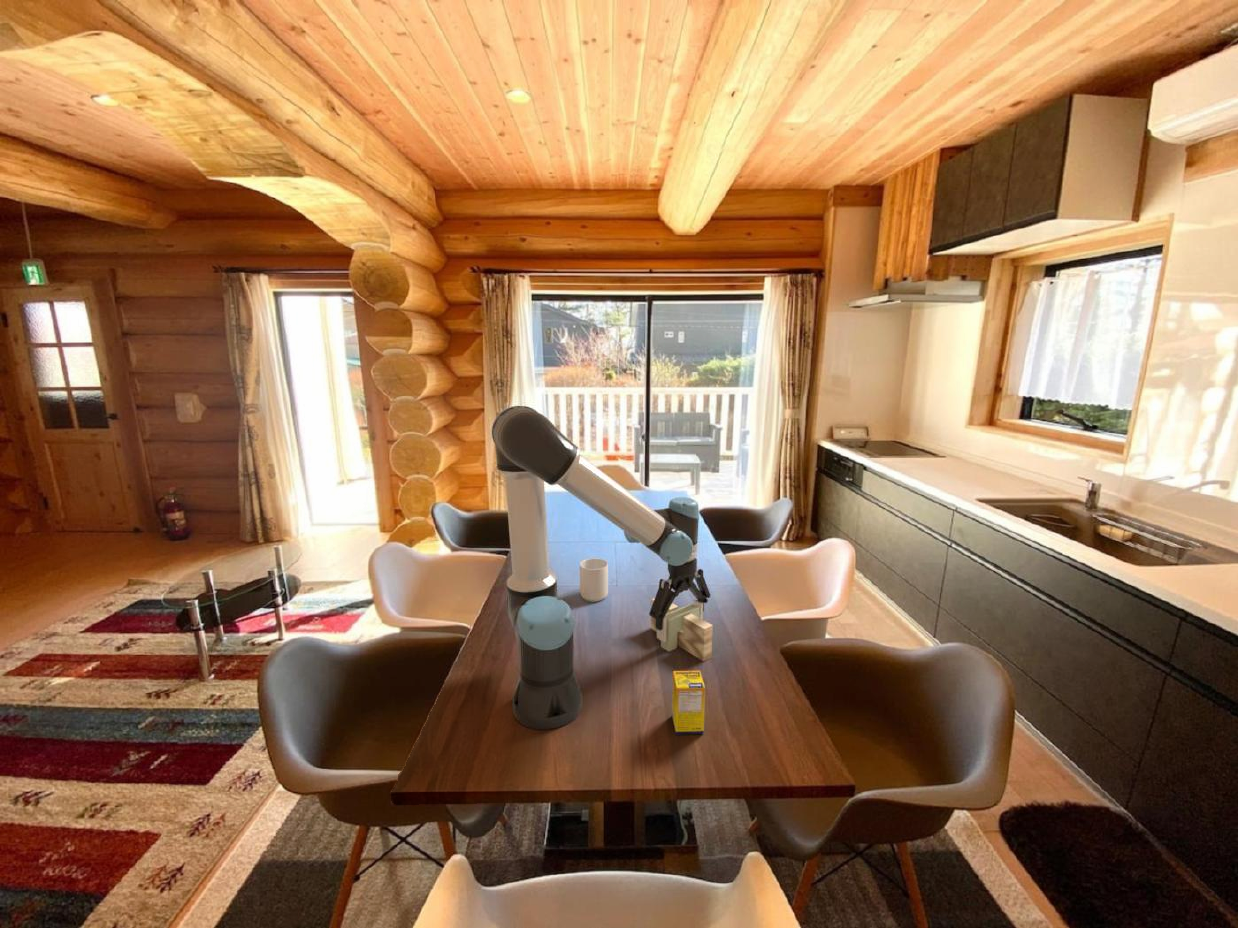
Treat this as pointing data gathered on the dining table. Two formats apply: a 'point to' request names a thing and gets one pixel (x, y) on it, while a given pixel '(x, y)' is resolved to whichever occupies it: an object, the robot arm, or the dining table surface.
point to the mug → (594, 579)
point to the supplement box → (688, 702)
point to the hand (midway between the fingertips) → (680, 631)
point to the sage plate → (676, 625)
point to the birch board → (692, 635)
